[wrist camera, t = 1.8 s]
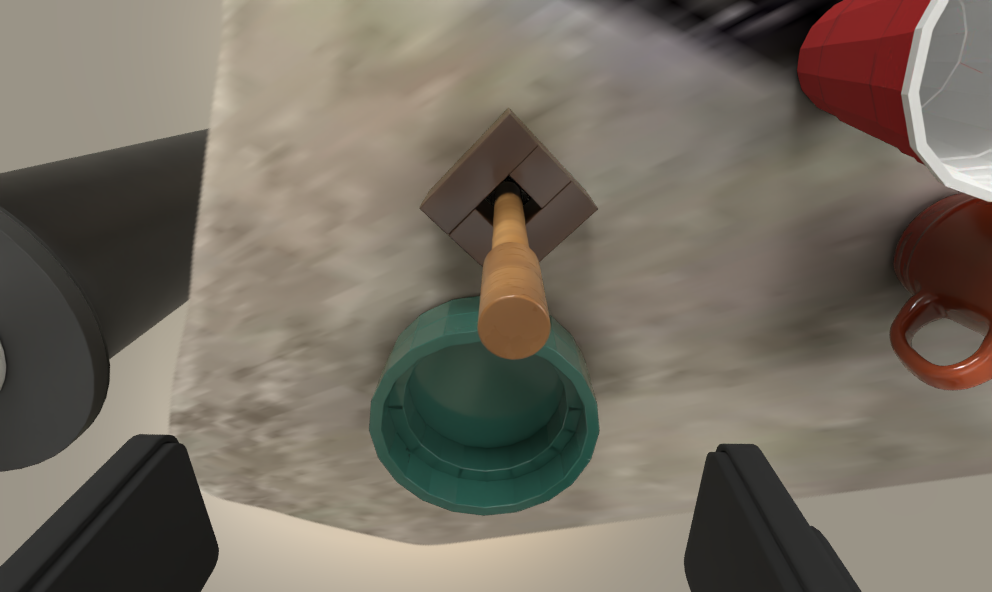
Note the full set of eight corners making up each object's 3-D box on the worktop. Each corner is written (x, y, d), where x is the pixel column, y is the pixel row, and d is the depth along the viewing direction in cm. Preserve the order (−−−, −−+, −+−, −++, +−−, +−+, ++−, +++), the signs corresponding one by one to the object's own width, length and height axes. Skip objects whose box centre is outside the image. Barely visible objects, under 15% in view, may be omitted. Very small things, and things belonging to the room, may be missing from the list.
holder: (428, 191, 32) (418, 208, 28) (508, 107, 29) (509, 113, 26) (507, 266, 34) (507, 290, 30) (587, 192, 31) (598, 209, 28)
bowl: (347, 381, 37) (323, 430, 32) (485, 250, 33) (482, 283, 28) (487, 487, 42) (485, 545, 37) (626, 383, 37) (645, 433, 32)
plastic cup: (950, 123, 30) (1214, 158, 19) (760, 176, 31) (902, 237, 20) (966, -96, 25) (1320, -218, 14) (745, -24, 27) (915, -86, 16)
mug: (990, 144, 30) (1210, 179, 21) (1038, 250, 33) (1251, 324, 23) (802, 266, 33) (919, 345, 24) (859, 354, 36) (984, 455, 27)
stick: (482, 192, 32) (462, 328, 15) (508, 166, 31) (514, 281, 14) (507, 216, 32) (513, 373, 16) (532, 192, 32) (566, 329, 15)
